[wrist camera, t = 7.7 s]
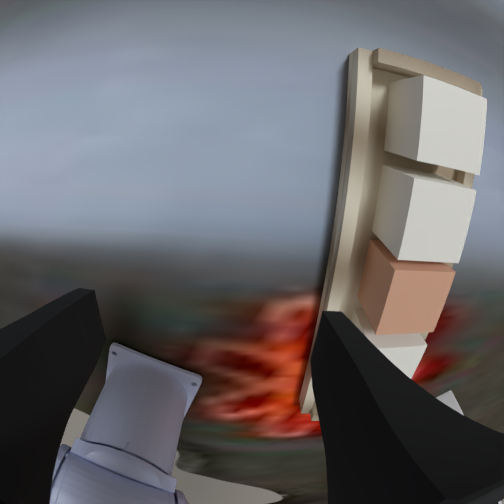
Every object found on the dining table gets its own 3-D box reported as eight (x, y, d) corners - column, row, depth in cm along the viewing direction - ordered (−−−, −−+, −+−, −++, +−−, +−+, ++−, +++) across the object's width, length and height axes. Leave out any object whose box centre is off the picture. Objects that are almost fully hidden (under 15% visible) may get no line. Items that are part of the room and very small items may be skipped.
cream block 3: (389, 351, 21) (405, 388, 17) (341, 353, 21) (353, 393, 17) (404, 309, 20) (427, 345, 16) (354, 309, 20) (370, 348, 16)
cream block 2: (426, 235, 17) (458, 263, 14) (371, 230, 17) (397, 259, 14) (438, 174, 16) (476, 190, 12) (382, 164, 16) (414, 178, 12)
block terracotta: (409, 296, 19) (433, 331, 15) (357, 296, 19) (375, 334, 15) (424, 243, 17) (455, 272, 14) (370, 239, 17) (395, 269, 14)
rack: (386, 392, 24) (393, 413, 22) (299, 397, 24) (301, 420, 22) (466, 88, 14) (490, 87, 11) (349, 54, 14) (363, 44, 11)
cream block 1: (440, 161, 15) (479, 175, 12) (383, 150, 15) (416, 160, 12) (446, 98, 14) (487, 99, 10) (389, 82, 14) (423, 75, 10)
